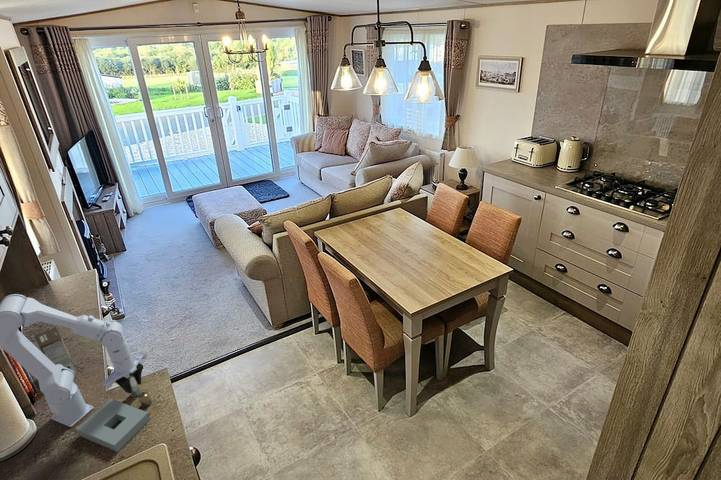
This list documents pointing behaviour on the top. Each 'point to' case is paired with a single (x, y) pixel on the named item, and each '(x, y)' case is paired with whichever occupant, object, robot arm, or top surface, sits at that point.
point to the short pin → (145, 399)
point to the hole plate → (107, 417)
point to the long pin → (133, 385)
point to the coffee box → (55, 348)
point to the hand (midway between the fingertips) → (133, 387)
